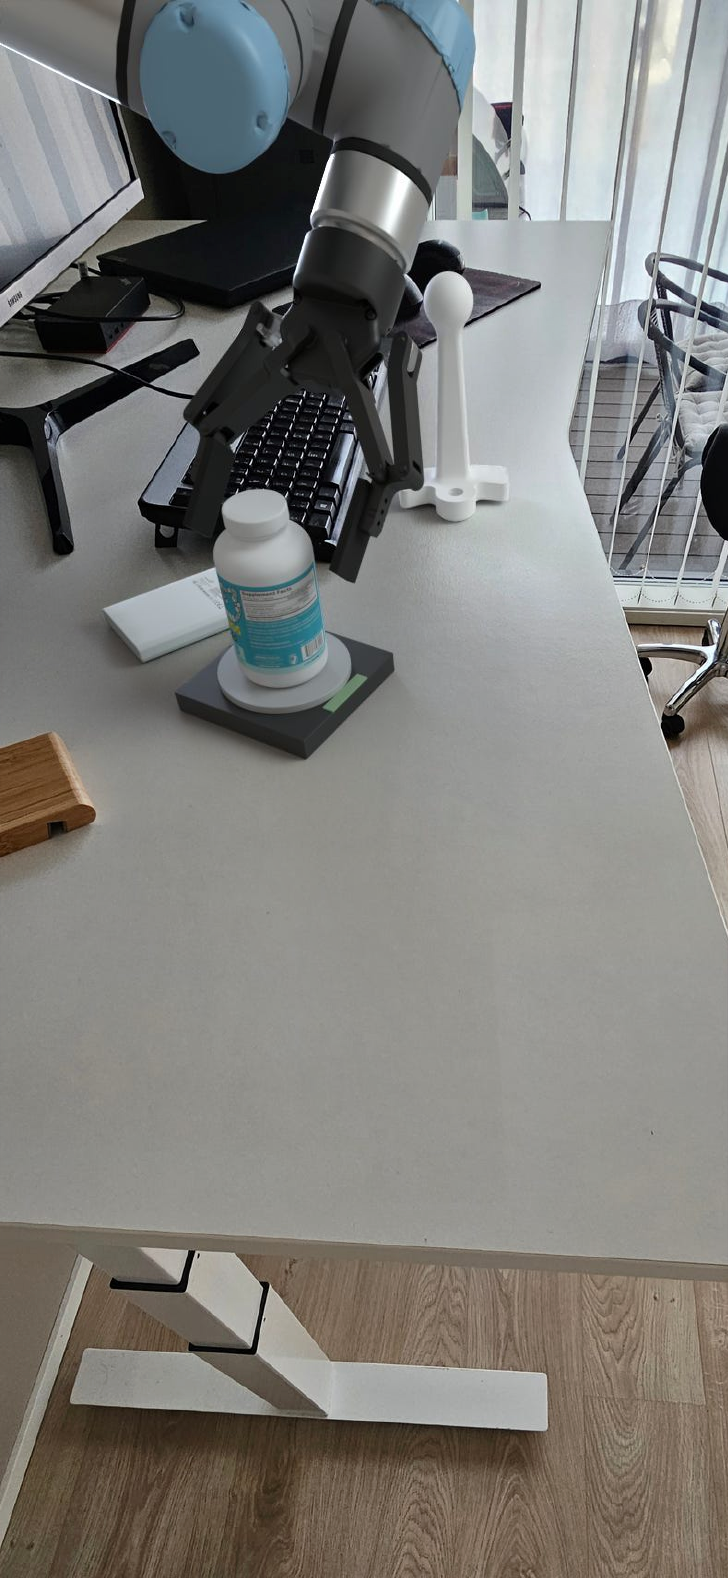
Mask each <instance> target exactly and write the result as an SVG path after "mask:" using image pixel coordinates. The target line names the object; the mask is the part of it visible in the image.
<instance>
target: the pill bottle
mask: <svg viewBox="0 0 728 1578" xmlns="http://www.w3.org/2000/svg"><path fill="white" fill-rule="evenodd" d="M221 514H222V520H223V524H224V528H225V529H224V530H223V531H222V532H221V533H220V534H219V536H218V537H217V538H216V539H215V540H216V541H215V543H214V546H213V548H212V549H213V550H212V559H213V564H214V567H215V569H216V573H217V577H218V581H219V586H220V590H221V594H222V598H223V602H224V606H225V610H226V615H227V619H228V623H229V627H230V628H229V631H230V636H231V639H232V643H233V644H234V649H235V653H236V657H237V661H238V665H239V667H240V669H241V671H242V673H243V674H244V675H245V676H246V677H247V678H248V679H249V680H251V681H252V682H254V683H257V684H259V685H262V686H266V687H273V688H284V687H291V686H295V685H299V684H302V683H304V682H306V681H308V680H310V679H312V678H313V677H315V676H316V675H317V674H318V673H319V672H320V671H321V670H322V669H323V668H324V666H325V664H326V662H327V658H328V647H327V640H326V633H325V631H326V628H325V621H324V615H323V613H324V612H323V606H322V601H321V595H320V587H319V581H318V573H317V568H316V567H317V566H316V560H315V554H314V546H313V544H312V540H311V537H310V536H309V533H307V531H306V530H305V529H304V527H302V526H301V525H299V523H297V522H295V521H293V520H291V519H290V511H289V507H288V502H287V499H286V498H285V496H284V495H283V494H281V493H279V492H278V491H275V490H271V489H267V488H266V489H265V488H258V489H257V488H256V489H248V490H244V491H241V492H238V493H236V494H233V495H232V496H230V497H228V498H227V499H226V500H225V501H224V502H223V503H222V505H221Z"/></svg>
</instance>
